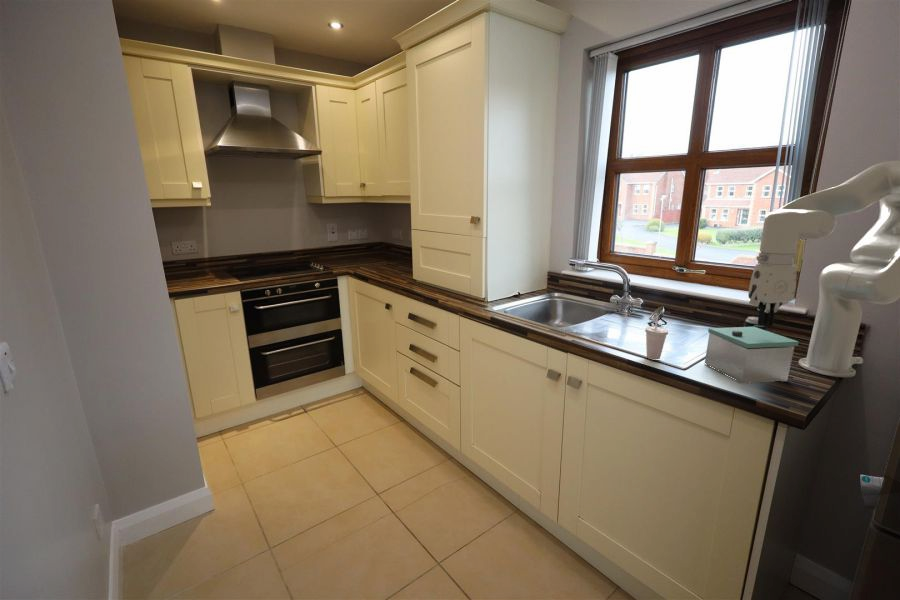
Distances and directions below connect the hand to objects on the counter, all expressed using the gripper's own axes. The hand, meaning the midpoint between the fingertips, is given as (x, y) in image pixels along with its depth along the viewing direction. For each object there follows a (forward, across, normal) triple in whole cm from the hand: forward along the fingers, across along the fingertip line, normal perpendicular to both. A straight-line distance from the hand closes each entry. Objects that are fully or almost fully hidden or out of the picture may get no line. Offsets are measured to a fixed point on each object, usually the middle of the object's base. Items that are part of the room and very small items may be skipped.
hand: (764, 325), depth 114 cm
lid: (+5, -1, +3) cm, 6 cm away
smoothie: (+15, -21, +16) cm, 30 cm away
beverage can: (+16, +13, +16) cm, 26 cm away
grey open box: (+15, -1, +3) cm, 16 cm away
